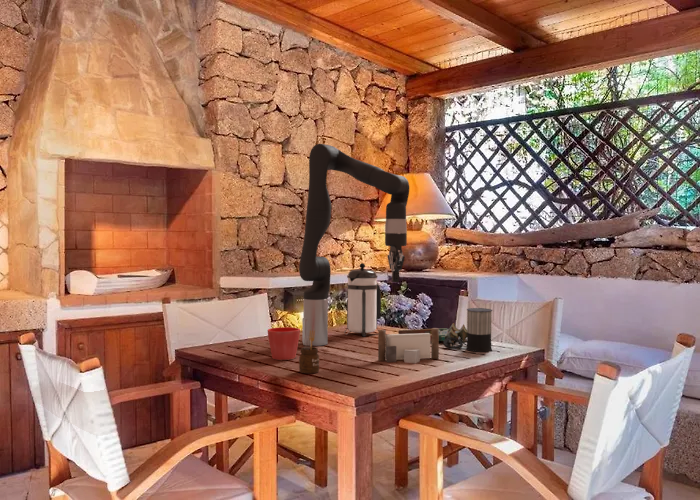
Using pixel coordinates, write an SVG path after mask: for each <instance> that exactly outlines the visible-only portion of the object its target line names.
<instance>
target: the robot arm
mask: <svg viewBox="0 0 700 500" xmlns="http://www.w3.org/2000/svg"><path fill="white" fill-rule="evenodd" d="M308 164H309V165H308V167H309V168H308V171H309V172H308V173H309V177H308V178H309V179H308V191H307V192H308V195H307V203H306V211H305V212H306V214H305V225H304V233H303V234H304V236H303V241H302V242H303V243H302V247H301V248H302V249H301V252H300V257H299V258H300V260H299V264H298V267H299V268H298V269H299V270H298V271H299V276H300V278H301V280H303V281H304V282H312V285H311V286H310V287H309V288H307V289H306V290H305V291H303V317H302V319H301V320H302V324H301V325H302V329H301V330H302V337H301V338H302V344H304V345H303V346H311V345H310V340H308V339H309V337H305V336H310V330H311V335H312V330H313V334H314V330H315V335H314V341H312V347H313V346H314V347H315V346H317V347H318V346H325V345H328V344H329V343H328V341H329V337H328V333H329V332H328V329H329V328H328V327H329V325H328V322H329V321H328V319H329V317H328V316H329V313H328V312H329V310H328V307H329V306H328V303H329V302H328V301H329V300H328V298H329V292H330V287H331V272H332V271H331V264H330V261H329V260H328V258H327V257H325V256H317V254H318V247H319V244H320V242H321V240H322V238H323V237H324V235H325V234H326V232H327V230H328V228H329V226H330V224H331V220H332V219H331V218H332V202H331V196H330V194H329V191H328V186H327V176H328V171H337V172H341V173H344V174H346V175H349V176H351V177H352V178H354V179H355V180H357V181H359V182H361V183H362V184H364V185H365V184H366V185H368V186H370V187H374V188H376V189H377V190H379V191H381V192H383V193H385V194H388V195H391V196H390V201H389V202H388V203H387V204H386V206H385V224H384V245H385V246H386V247H389V251H388V254H387V262H388V266H389V270H390V271H391V282H392V283H399V282H400V272H401V271H402V269H403V265H404V262H405V258H406V257H405V255H404V254H403V253H404V252H403V248H402V247H406V246H407V243H408V240H407V238H408V237H407V236H408V234H407V232H408V229H407V227H408V225H407V204H408V200H409V197H410V182H409V180H408V179H407V178H406V176H403V175H399V174H394V173H391V172H388V171H385V170H384V169H382V168H381V167H378V166H375V165H373V164H370V163H368V162H365V161H361V160H359V159H356V158H355V157H352V156H351V155H347V153H344V152H343V151H341V149H340V150H339V149H338V148H337V147H335V146H333V145H329V144H325V143H317V144H315V145H314V146H312V148H311V150H310V153H309V158H308ZM303 338H304V339H303ZM312 338H313V336H312ZM305 344H306V345H305Z"/></svg>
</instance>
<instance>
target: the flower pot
mask: <svg viewBox="0 0 700 500" xmlns="http://www.w3.org/2000/svg"><path fill="white" fill-rule="evenodd" d="M300 333H301V329H300V328H298V327H293V326H292V327H287V326H285V327H283V326H282V327H281V326H280V327H279V326H278V327H272V328H268V329H267V337H268V342H269V349H270V352H271V357H272V359H273V360H276V361H278V360H279V361H283V360H284V361H287V360H288V361H289V360H293V359H294V360H295V358H296V356H297V352H298V348H299V347H298V346H299V340H300V335H301V334H300Z"/></svg>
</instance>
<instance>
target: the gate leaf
mask: <svg viewBox="0 0 700 500" xmlns="http://www.w3.org/2000/svg"><path fill="white" fill-rule="evenodd" d="M386 346H396V361H397V360H404V350H406V349H408V348H411V349H420V360H422V359H431V341H430V334H429V333H419V334H398V333H391V334H389V333H388V334H386Z"/></svg>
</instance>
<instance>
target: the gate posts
mask: <svg viewBox="0 0 700 500" xmlns="http://www.w3.org/2000/svg"><path fill="white" fill-rule="evenodd" d="M431 329H432V339H431V341H430V359H431V360H439V358H440V357H439V355H440V354H439V349H440V347H439V345H440V341H439V329H440V328H438V327H432V328H431ZM377 332H378V333H377V335H378V336H377V337H378V338H377V340H378V341H377V344H378V346H377V348H378V349H377V350H378V352H377V355H378V356H377V362H378V361H379V362H386V363H397V360H396V346H386V335H387V334H386V333H387V330H386V329H378V330H377Z"/></svg>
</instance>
